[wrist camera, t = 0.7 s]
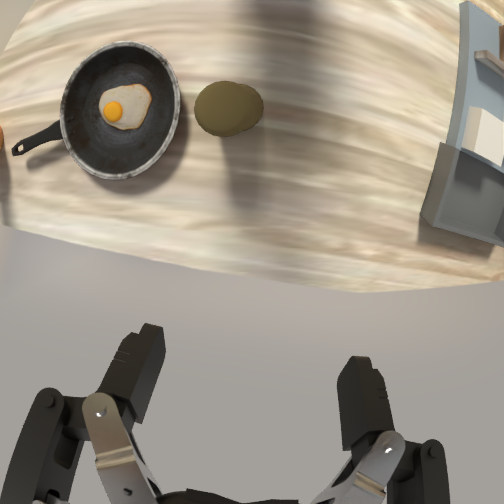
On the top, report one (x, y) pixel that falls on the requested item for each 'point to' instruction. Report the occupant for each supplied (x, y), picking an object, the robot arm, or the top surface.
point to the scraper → (493, 56)
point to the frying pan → (116, 111)
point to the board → (476, 75)
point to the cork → (228, 108)
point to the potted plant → (1, 138)
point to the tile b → (484, 135)
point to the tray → (465, 196)
